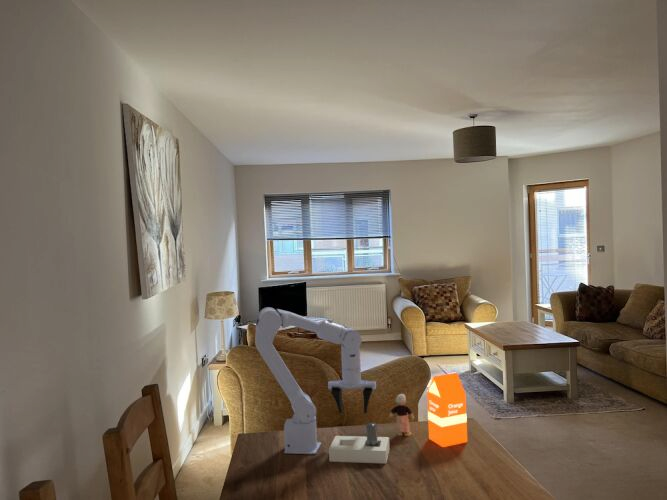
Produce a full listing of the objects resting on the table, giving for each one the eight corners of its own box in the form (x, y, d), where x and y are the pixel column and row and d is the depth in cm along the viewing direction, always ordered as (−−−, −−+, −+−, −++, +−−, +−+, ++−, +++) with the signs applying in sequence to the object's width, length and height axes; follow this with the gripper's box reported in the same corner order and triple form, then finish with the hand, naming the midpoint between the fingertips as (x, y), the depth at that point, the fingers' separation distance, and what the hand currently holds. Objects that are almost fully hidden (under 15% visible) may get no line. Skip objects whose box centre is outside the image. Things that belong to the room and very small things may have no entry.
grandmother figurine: (414, 431, 167) (412, 392, 167) (415, 436, 163) (413, 395, 163) (390, 432, 168) (388, 392, 168) (390, 436, 164) (388, 396, 164)
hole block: (329, 461, 148) (328, 449, 148) (336, 447, 158) (335, 435, 157) (386, 463, 145) (385, 450, 145) (389, 449, 154) (389, 437, 154)
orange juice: (428, 438, 161) (425, 373, 161) (453, 433, 164) (450, 369, 164) (442, 447, 154) (439, 379, 153) (468, 442, 157) (465, 375, 156)
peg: (366, 457, 149) (365, 426, 149) (369, 453, 152) (367, 422, 152) (377, 458, 148) (375, 426, 148) (379, 454, 151) (377, 423, 151)
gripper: (325, 371, 158) (327, 416, 158) (373, 371, 155) (375, 416, 155) (329, 365, 164) (332, 408, 165) (376, 365, 162) (378, 409, 162)
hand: (353, 412), depth 160 cm, fingers open, 7 cm apart
